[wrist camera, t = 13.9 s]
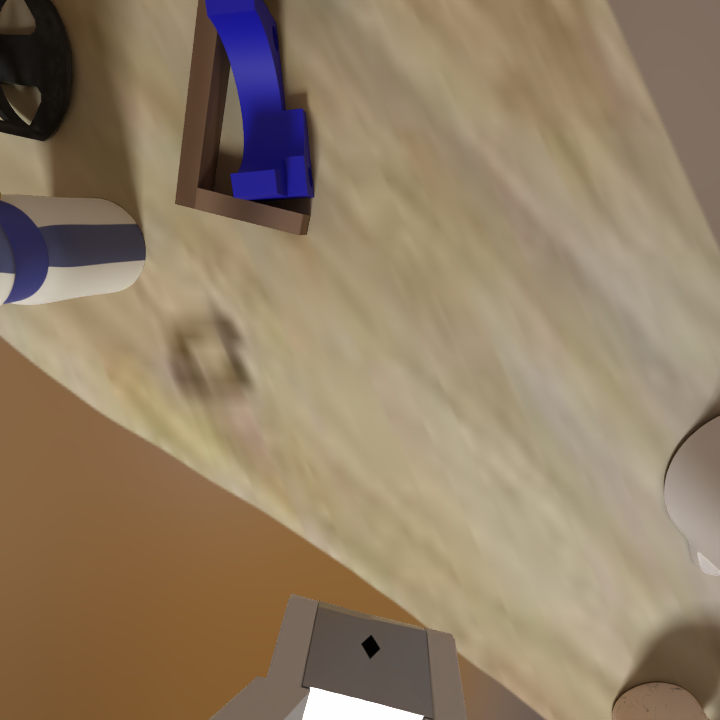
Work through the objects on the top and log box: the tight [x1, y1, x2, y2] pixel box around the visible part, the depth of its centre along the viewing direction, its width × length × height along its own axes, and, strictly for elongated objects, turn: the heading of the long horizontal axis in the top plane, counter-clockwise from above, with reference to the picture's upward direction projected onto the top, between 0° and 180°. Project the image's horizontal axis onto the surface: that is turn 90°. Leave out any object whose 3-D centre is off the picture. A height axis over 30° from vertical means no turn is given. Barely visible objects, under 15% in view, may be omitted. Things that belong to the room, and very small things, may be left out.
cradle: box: [175, 0, 310, 235], centre depth 33 cm, size 10×18×3 cm, turn 167°
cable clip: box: [205, 0, 314, 202], centre depth 32 cm, size 12×4×6 cm, turn 5°
